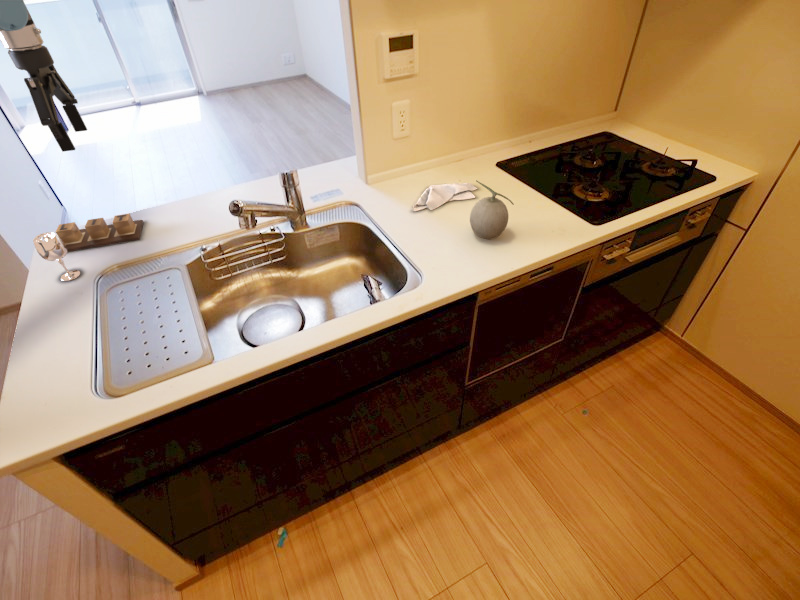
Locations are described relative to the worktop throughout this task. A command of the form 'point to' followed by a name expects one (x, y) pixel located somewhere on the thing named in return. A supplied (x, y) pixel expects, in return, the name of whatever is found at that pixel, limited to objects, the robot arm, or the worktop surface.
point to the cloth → (443, 195)
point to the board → (105, 238)
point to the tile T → (124, 223)
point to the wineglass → (54, 252)
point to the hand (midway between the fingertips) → (75, 140)
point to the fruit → (489, 216)
